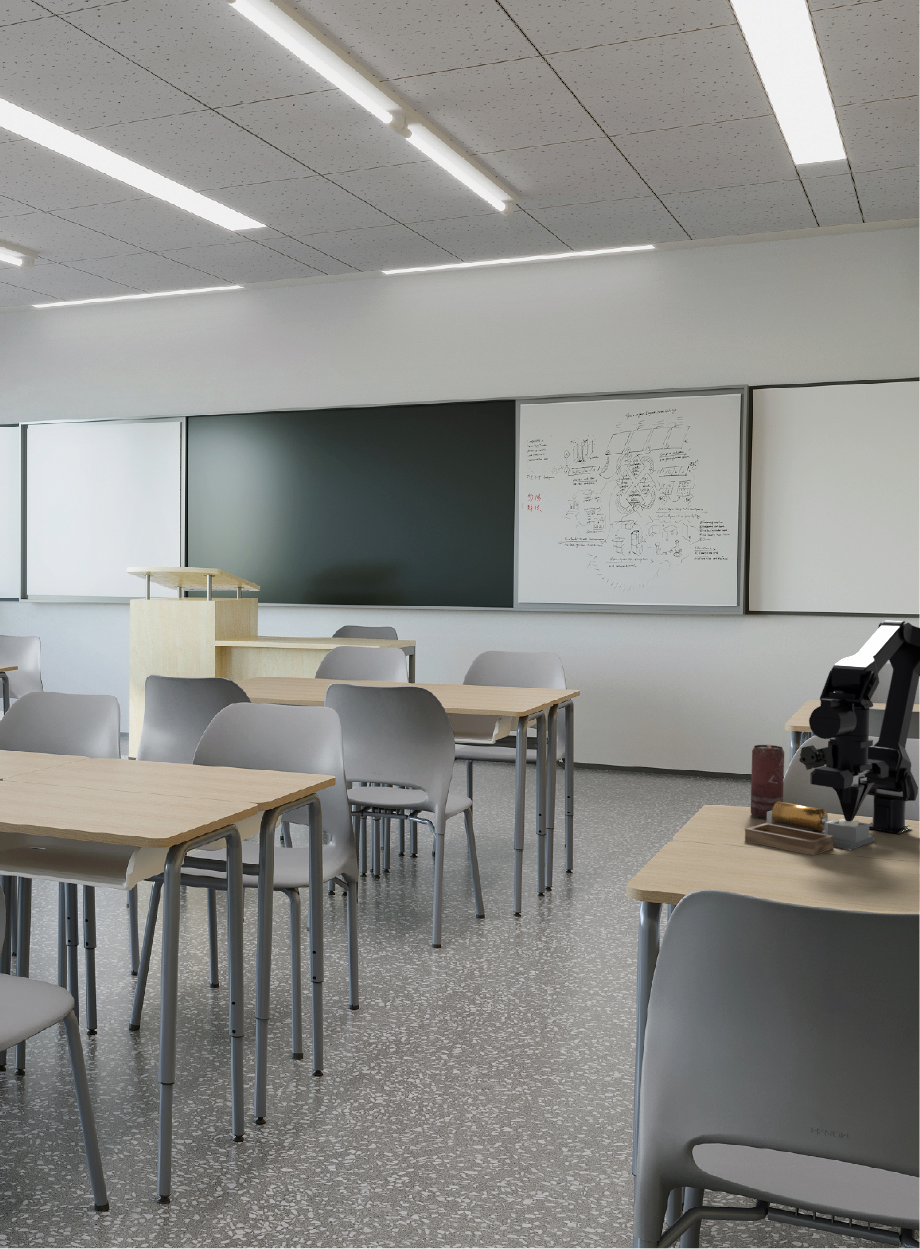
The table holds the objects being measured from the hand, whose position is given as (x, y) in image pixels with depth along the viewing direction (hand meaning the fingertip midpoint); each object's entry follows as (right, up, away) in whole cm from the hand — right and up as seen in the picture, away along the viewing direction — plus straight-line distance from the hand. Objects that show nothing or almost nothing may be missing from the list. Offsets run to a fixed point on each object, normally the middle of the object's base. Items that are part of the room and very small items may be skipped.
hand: (848, 820), depth 184 cm
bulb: (0, -2, 0) cm, 2 cm away
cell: (-7, 0, +7) cm, 9 cm away
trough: (-11, -4, -2) cm, 12 cm away
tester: (-5, -4, +5) cm, 8 cm away
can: (-8, -3, +21) cm, 23 cm away
